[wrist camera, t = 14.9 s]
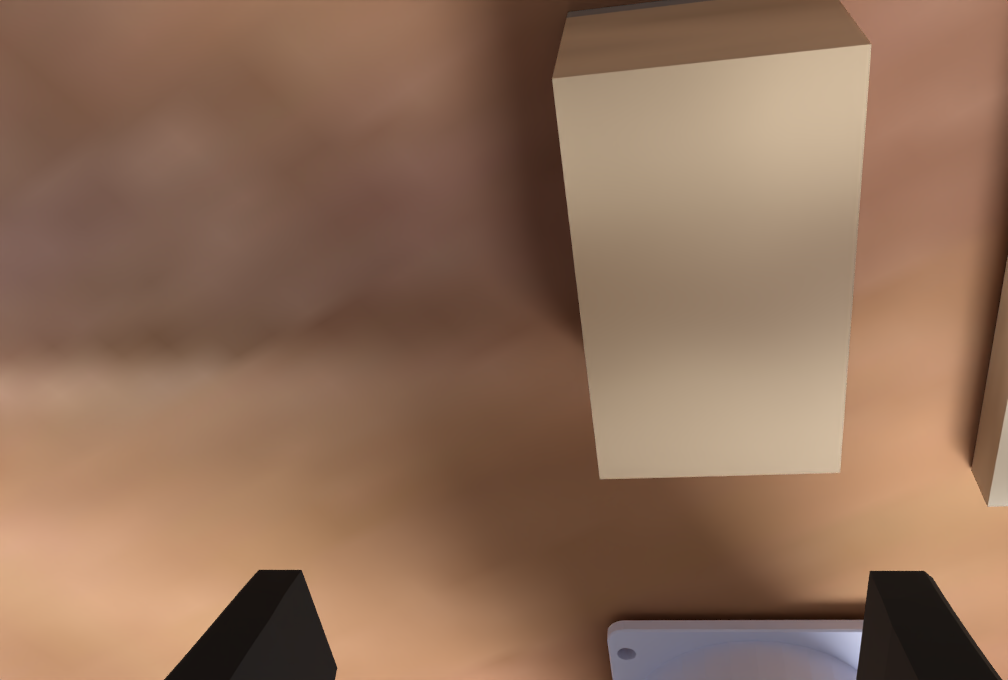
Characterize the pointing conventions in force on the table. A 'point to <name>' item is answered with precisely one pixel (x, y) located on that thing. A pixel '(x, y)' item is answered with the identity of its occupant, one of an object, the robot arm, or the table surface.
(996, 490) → the beige square mat
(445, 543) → the table surface
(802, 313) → the block
